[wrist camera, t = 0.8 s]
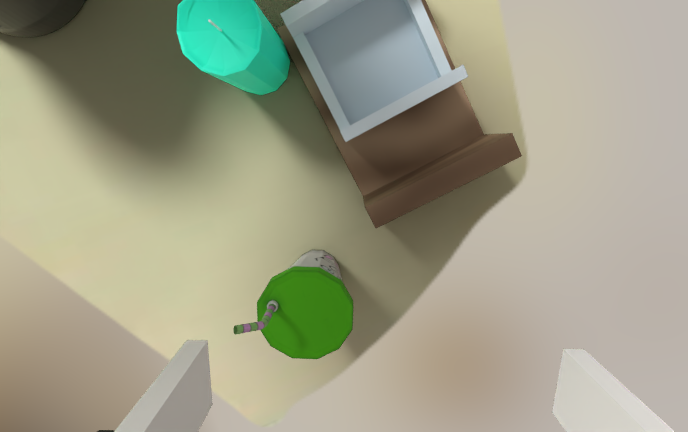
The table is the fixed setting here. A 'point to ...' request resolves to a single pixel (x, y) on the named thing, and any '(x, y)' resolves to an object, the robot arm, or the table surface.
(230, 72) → the candle
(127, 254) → the table surface
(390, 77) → the light blue holder
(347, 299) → the cup
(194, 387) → the robot arm
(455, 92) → the track
